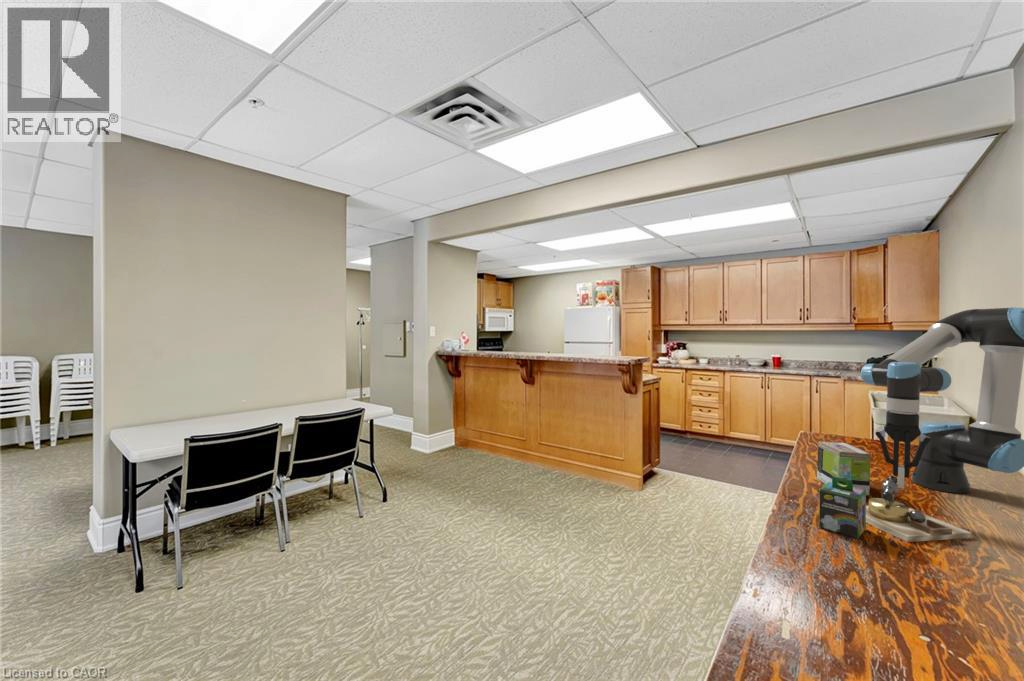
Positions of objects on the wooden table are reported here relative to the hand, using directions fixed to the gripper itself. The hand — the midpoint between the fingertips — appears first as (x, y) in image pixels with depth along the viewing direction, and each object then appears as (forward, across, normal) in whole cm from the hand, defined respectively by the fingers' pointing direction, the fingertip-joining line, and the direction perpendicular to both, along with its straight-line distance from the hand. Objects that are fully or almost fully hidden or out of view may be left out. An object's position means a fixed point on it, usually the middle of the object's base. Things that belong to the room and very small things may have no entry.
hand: (900, 486), depth 133 cm
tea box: (+8, +15, -15) cm, 22 cm away
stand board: (+8, 0, +11) cm, 14 cm away
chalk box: (+8, +13, +26) cm, 31 cm away
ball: (+6, -3, +13) cm, 14 cm away
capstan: (+6, +3, +7) cm, 10 cm away
